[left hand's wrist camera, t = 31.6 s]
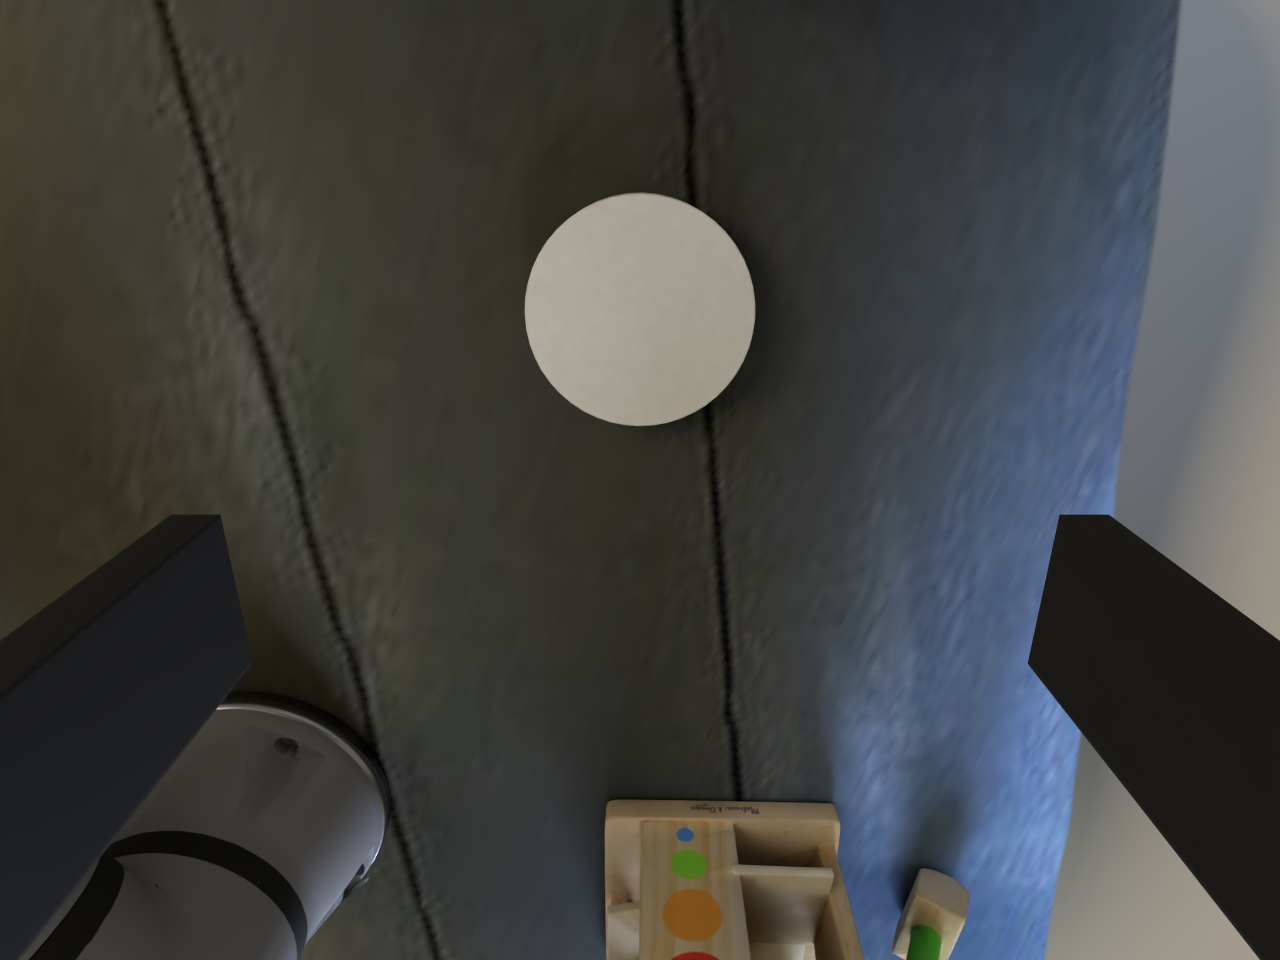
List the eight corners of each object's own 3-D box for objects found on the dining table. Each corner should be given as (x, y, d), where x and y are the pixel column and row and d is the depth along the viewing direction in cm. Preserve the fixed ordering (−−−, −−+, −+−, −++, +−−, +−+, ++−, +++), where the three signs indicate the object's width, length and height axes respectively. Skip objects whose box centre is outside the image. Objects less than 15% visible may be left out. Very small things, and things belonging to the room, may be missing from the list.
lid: (525, 190, 36) (520, 191, 34) (758, 194, 36) (763, 195, 34) (533, 413, 40) (528, 424, 38) (743, 417, 40) (747, 428, 38)
